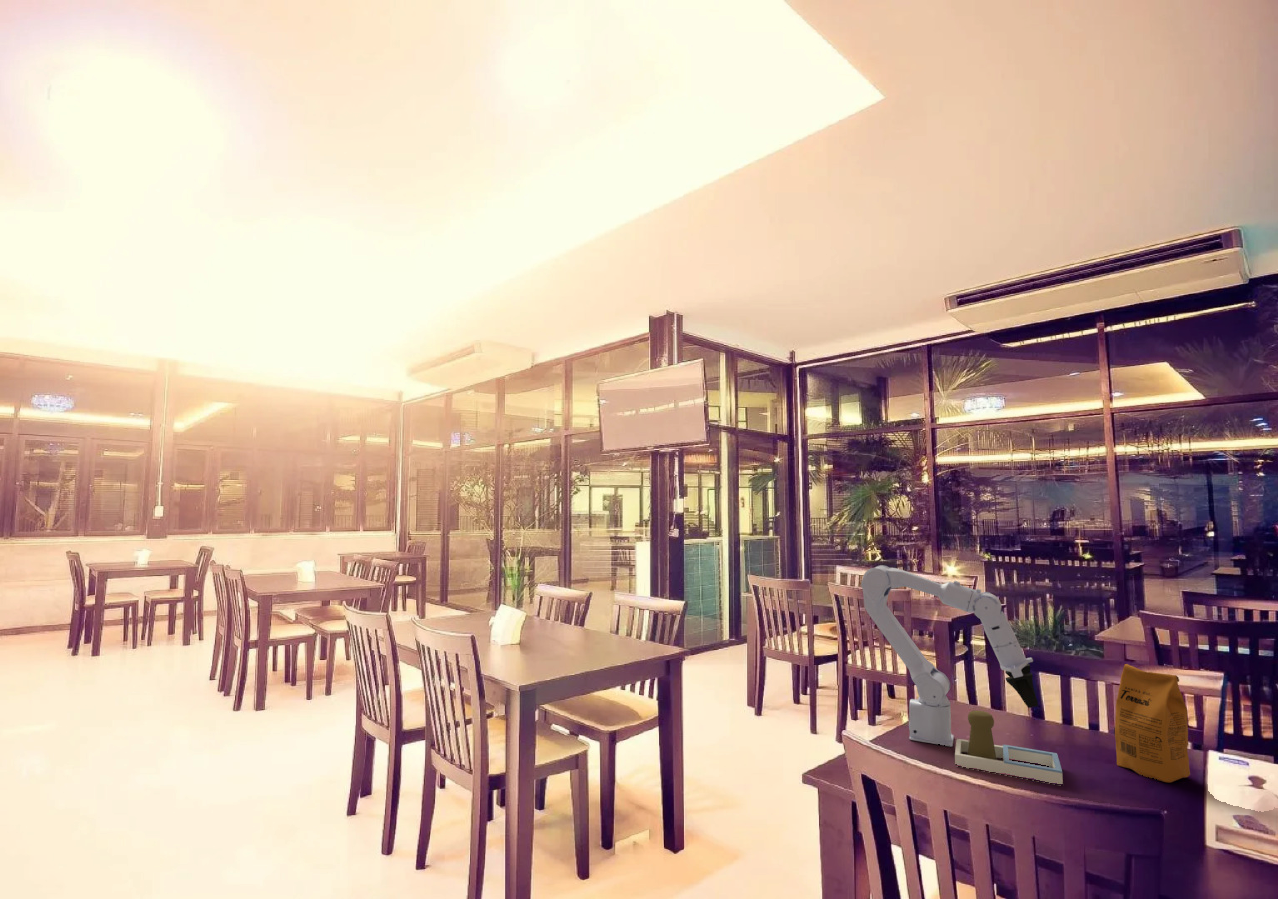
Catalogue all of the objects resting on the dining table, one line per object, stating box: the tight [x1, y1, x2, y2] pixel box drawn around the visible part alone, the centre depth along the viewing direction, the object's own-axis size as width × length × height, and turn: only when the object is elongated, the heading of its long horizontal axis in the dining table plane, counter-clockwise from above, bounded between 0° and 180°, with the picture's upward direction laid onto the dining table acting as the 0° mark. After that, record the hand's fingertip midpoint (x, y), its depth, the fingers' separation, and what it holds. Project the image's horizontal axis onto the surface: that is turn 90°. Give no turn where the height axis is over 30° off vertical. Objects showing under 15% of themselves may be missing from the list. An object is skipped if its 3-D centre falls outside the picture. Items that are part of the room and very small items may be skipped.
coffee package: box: [1114, 663, 1191, 783], centre depth 142 cm, size 10×12×22 cm
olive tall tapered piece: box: [967, 709, 998, 760], centre depth 145 cm, size 6×6×11 cm
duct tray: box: [954, 738, 1064, 785], centre depth 143 cm, size 20×11×3 cm, turn 62°
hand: (1032, 702), depth 148 cm, fingers open, 7 cm apart
